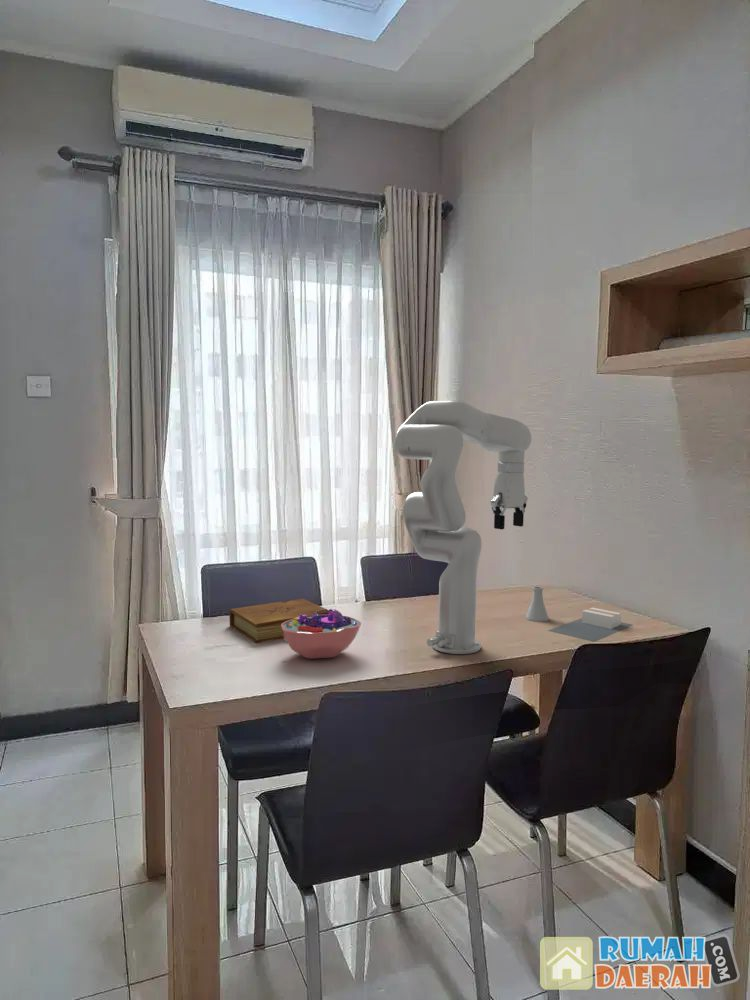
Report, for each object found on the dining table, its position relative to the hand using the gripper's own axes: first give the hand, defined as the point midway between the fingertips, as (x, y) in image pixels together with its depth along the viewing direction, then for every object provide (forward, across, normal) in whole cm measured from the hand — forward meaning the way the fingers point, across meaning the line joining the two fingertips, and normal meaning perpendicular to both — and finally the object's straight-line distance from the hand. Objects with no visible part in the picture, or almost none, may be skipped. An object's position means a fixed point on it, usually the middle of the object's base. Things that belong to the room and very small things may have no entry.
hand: (508, 527), depth 200 cm
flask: (+29, -9, +5) cm, 30 cm away
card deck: (+28, -18, +21) cm, 39 cm away
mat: (+28, -12, +21) cm, 37 cm away
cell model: (+29, +60, -14) cm, 68 cm away
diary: (+29, +53, -40) cm, 72 cm away
